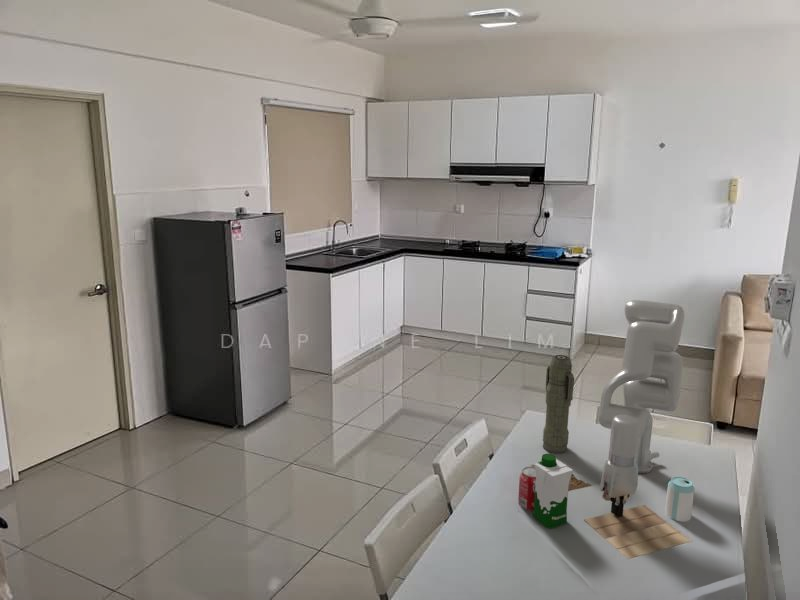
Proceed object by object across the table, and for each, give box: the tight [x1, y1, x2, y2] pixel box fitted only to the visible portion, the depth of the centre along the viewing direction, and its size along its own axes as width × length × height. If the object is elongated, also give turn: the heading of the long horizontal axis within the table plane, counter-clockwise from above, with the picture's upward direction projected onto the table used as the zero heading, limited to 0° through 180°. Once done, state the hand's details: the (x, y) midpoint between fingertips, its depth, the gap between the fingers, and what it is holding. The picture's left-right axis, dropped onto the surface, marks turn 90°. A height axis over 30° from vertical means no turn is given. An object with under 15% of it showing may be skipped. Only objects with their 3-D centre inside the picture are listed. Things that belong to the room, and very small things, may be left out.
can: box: [664, 476, 695, 522], centre depth 178 cm, size 7×7×12 cm
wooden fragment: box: [530, 464, 593, 492], centre depth 200 cm, size 26×11×1 cm, turn 34°
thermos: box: [542, 354, 575, 454], centre depth 218 cm, size 9×12×35 cm
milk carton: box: [532, 453, 574, 530], centre depth 175 cm, size 9×9×20 cm
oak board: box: [605, 522, 693, 560], centre depth 168 cm, size 22×9×1 cm, turn 111°
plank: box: [583, 504, 667, 539], centre depth 176 cm, size 22×9×1 cm, turn 111°
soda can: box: [517, 466, 536, 511], centre depth 183 cm, size 7×7×12 cm
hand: (616, 514), depth 179 cm, fingers closed
